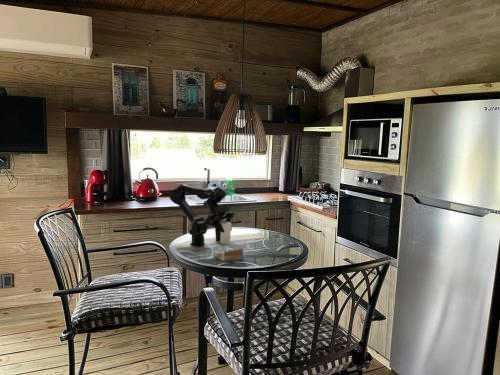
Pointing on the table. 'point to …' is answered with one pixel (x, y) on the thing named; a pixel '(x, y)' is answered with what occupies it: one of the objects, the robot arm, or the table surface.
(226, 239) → the paper roll
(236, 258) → the holder
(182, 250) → the table surface
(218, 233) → the coffee mug
